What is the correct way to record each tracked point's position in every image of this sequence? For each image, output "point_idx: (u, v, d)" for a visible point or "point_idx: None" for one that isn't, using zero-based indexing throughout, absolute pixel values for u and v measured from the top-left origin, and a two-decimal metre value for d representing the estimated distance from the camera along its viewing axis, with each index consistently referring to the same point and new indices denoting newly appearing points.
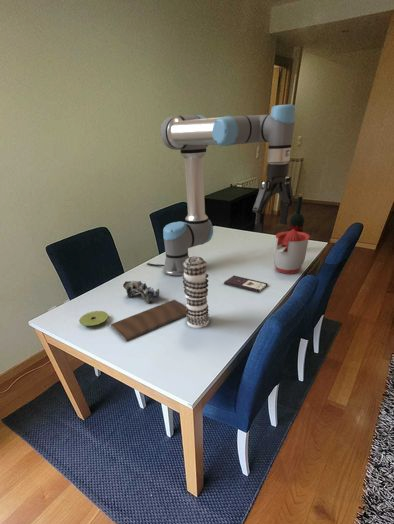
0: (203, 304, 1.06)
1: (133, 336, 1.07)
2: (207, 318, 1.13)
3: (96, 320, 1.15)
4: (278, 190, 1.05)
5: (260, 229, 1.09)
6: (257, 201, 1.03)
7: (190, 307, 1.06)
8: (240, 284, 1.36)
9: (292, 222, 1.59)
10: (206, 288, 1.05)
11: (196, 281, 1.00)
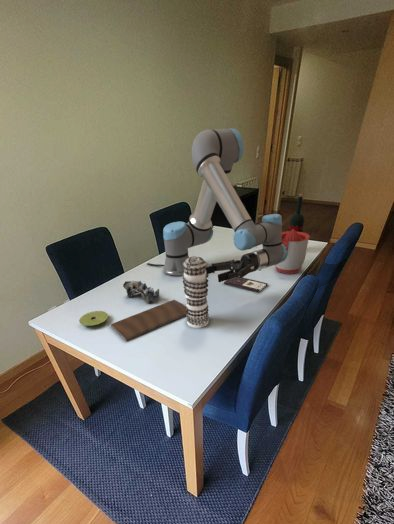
0: (203, 304, 1.06)
1: (133, 336, 1.07)
2: (207, 318, 1.13)
3: (96, 320, 1.15)
4: None
5: (221, 279, 1.04)
6: (245, 270, 1.06)
7: (190, 307, 1.06)
8: (240, 284, 1.36)
9: (292, 222, 1.59)
10: (206, 288, 1.05)
11: (196, 281, 1.00)
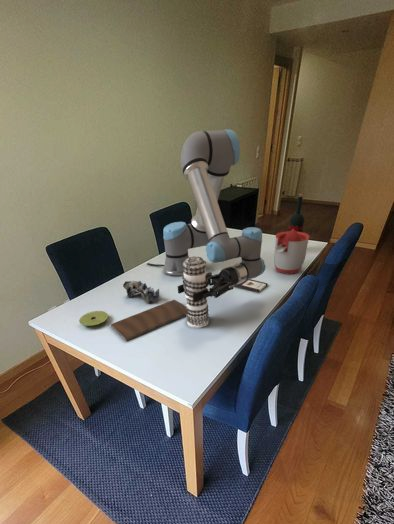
0: (203, 304, 1.06)
1: (133, 336, 1.07)
2: (207, 318, 1.13)
3: (96, 320, 1.15)
4: None
5: (196, 299, 1.01)
6: (221, 290, 1.03)
7: (190, 307, 1.06)
8: (240, 284, 1.36)
9: (292, 222, 1.59)
10: (206, 288, 1.06)
11: (196, 281, 1.00)
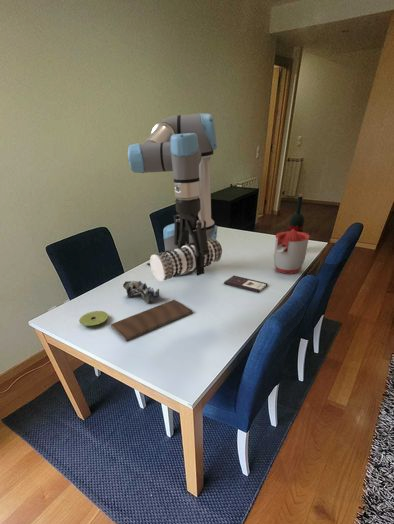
0: None
1: (133, 336, 1.07)
2: None
3: (96, 320, 1.15)
4: (187, 227, 0.91)
5: None
6: None
7: None
8: (240, 284, 1.36)
9: (292, 222, 1.59)
10: None
11: None
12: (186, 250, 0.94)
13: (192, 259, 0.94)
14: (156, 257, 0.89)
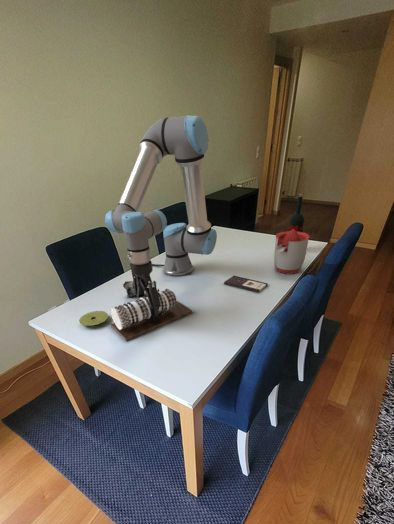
0: None
1: (133, 336, 1.07)
2: (115, 308, 1.07)
3: (96, 320, 1.15)
4: (142, 284, 1.06)
5: None
6: None
7: None
8: (240, 284, 1.36)
9: (292, 222, 1.59)
10: (145, 297, 1.12)
11: None
12: (142, 302, 1.08)
13: (147, 310, 1.09)
14: (114, 311, 1.04)
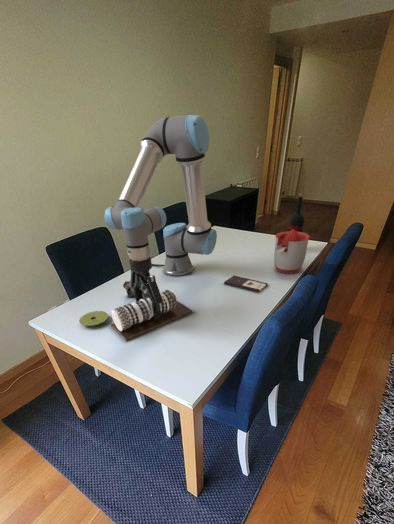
0: None
1: (133, 336, 1.07)
2: None
3: (96, 320, 1.15)
4: (141, 281, 1.05)
5: None
6: None
7: None
8: (240, 284, 1.36)
9: (292, 222, 1.59)
10: None
11: None
12: (142, 304, 1.09)
13: (148, 312, 1.09)
14: (115, 313, 1.04)
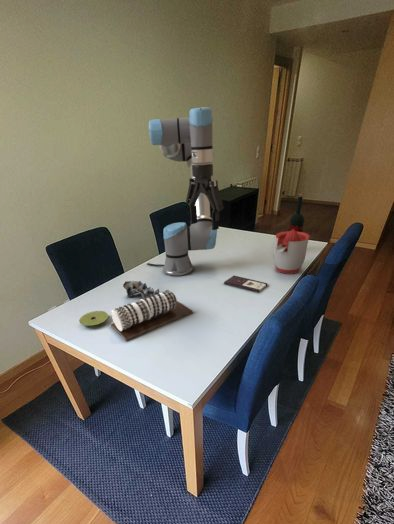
0: None
1: (133, 336, 1.07)
2: None
3: (96, 320, 1.15)
4: (201, 190, 1.08)
5: None
6: None
7: None
8: (240, 284, 1.36)
9: (292, 222, 1.59)
10: None
11: None
12: (142, 304, 1.09)
13: (148, 312, 1.09)
14: (115, 313, 1.04)
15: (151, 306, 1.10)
